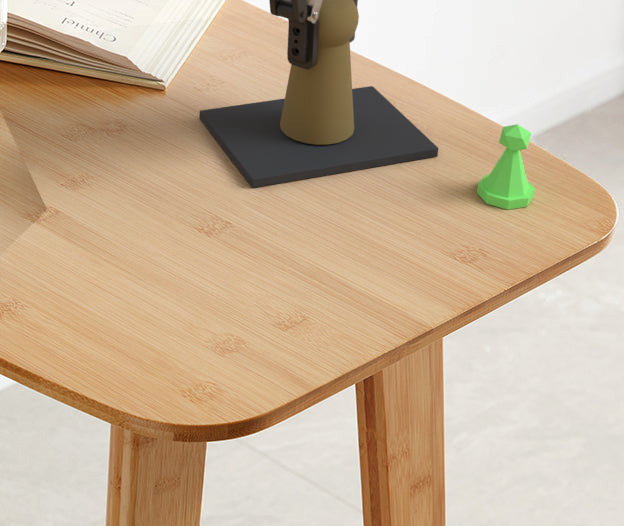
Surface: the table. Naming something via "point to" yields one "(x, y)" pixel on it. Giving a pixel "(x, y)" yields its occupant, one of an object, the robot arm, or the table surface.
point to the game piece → (508, 173)
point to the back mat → (310, 157)
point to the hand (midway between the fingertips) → (321, 52)
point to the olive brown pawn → (324, 82)
